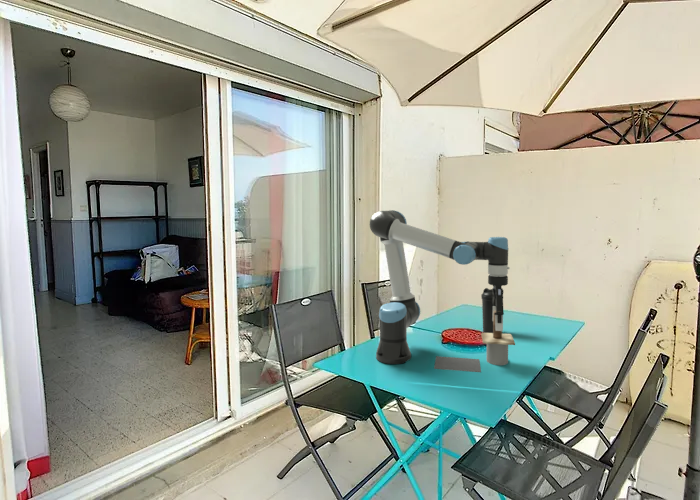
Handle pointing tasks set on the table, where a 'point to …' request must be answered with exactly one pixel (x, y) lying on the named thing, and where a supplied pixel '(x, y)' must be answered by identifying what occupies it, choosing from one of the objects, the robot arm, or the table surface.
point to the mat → (457, 364)
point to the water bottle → (487, 310)
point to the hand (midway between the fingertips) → (497, 325)
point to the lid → (497, 336)
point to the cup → (497, 354)
